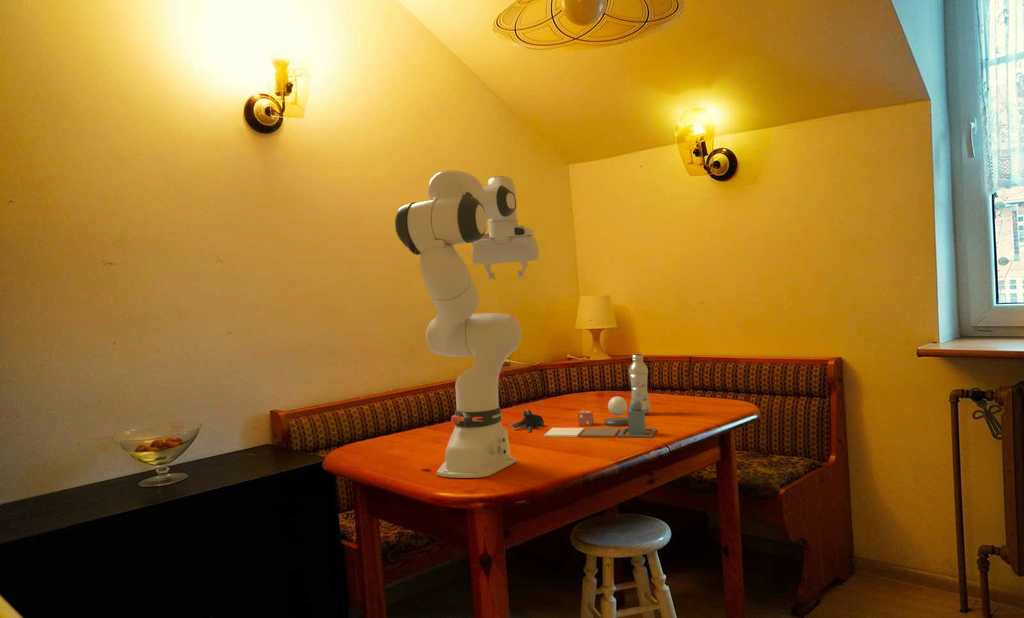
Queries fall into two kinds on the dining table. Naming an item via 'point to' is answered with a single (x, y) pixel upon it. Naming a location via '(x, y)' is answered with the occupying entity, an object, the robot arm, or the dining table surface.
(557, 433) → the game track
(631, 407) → the pawn
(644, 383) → the plastic bottle
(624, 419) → the base
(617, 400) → the white ball
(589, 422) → the die
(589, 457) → the dining table surface
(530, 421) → the stuffed animal
